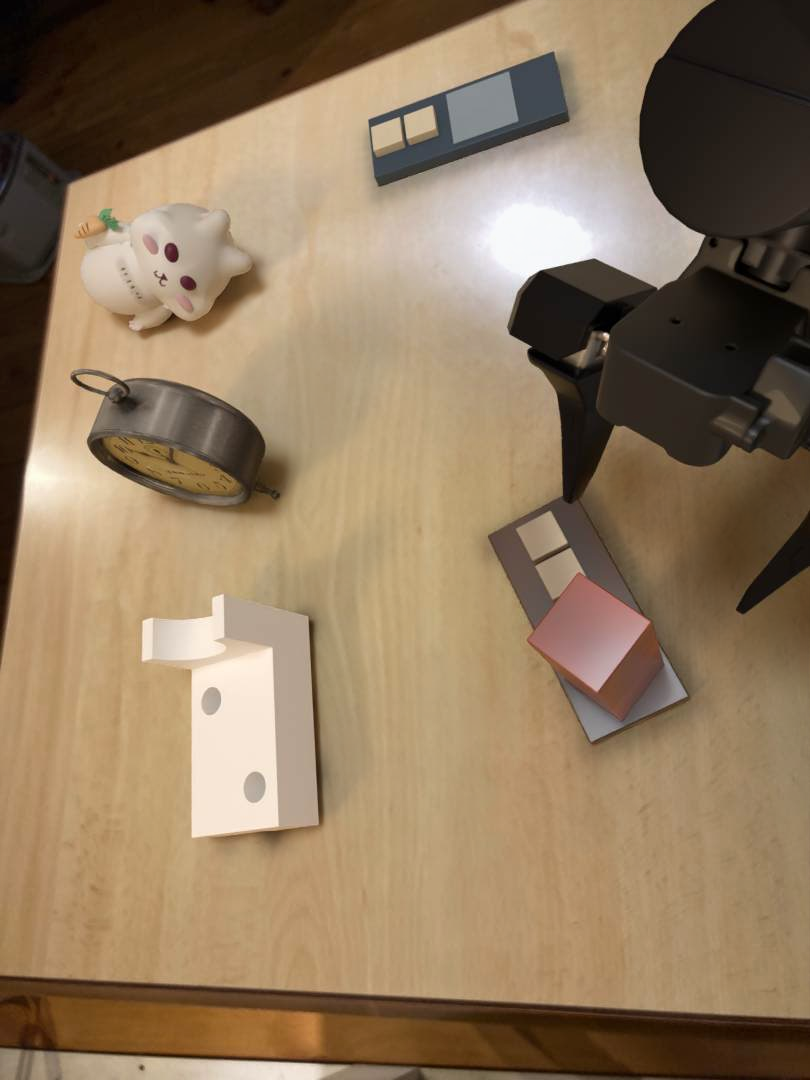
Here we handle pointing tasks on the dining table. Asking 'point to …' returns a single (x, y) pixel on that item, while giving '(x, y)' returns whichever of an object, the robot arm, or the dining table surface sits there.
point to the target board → (467, 119)
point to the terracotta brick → (599, 645)
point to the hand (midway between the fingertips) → (652, 552)
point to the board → (544, 573)
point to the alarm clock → (177, 440)
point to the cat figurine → (159, 262)
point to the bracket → (245, 714)
